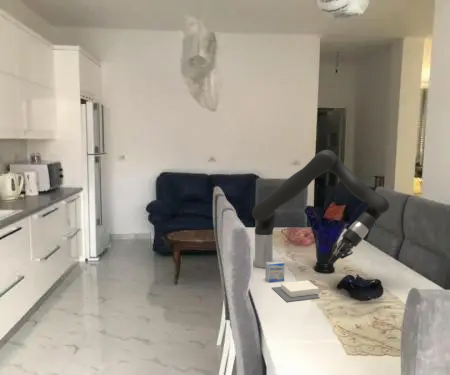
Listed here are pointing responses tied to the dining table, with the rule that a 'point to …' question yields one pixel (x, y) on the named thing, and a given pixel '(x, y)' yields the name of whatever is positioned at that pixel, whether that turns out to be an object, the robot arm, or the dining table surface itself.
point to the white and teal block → (299, 288)
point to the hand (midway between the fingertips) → (330, 262)
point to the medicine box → (274, 271)
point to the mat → (291, 299)
